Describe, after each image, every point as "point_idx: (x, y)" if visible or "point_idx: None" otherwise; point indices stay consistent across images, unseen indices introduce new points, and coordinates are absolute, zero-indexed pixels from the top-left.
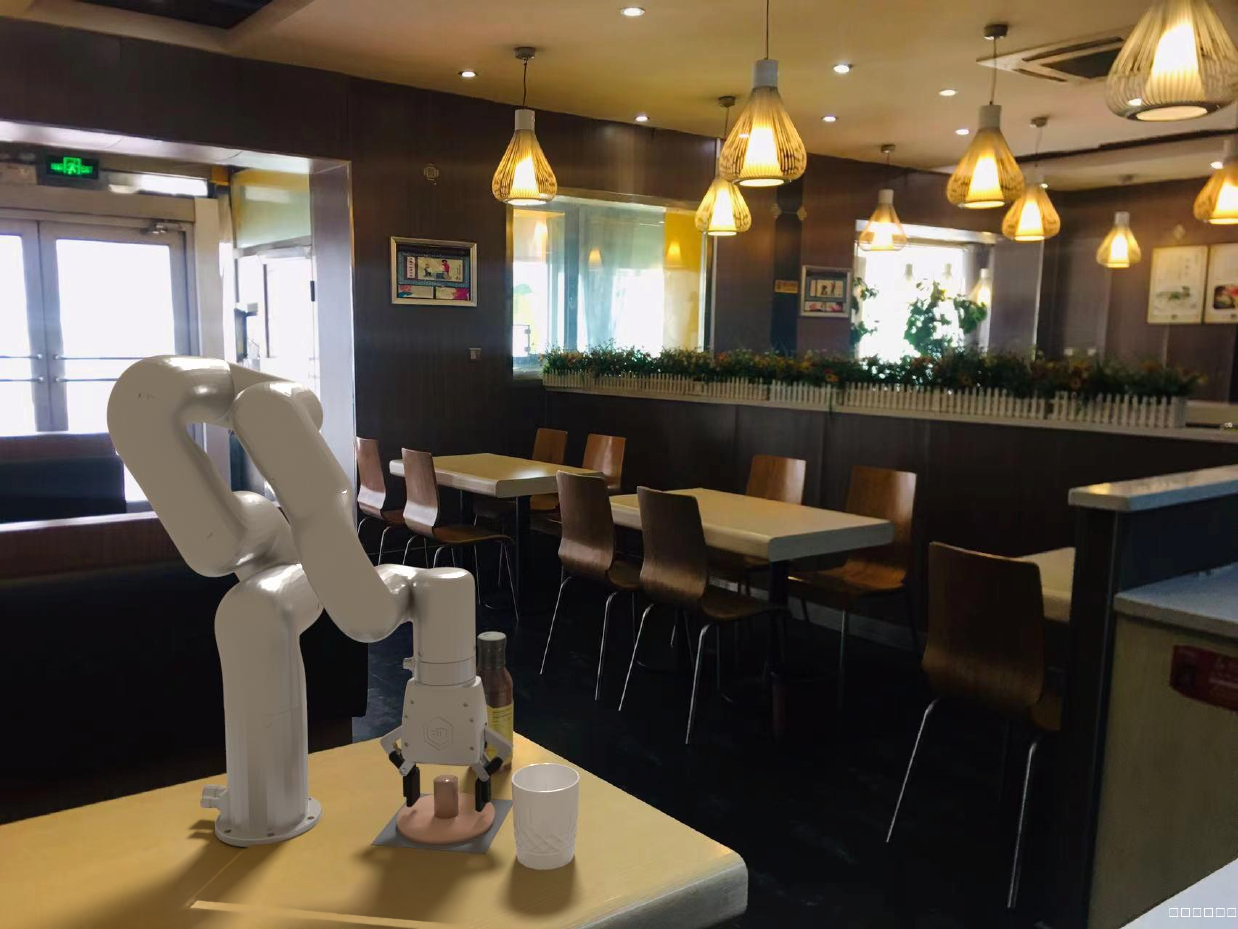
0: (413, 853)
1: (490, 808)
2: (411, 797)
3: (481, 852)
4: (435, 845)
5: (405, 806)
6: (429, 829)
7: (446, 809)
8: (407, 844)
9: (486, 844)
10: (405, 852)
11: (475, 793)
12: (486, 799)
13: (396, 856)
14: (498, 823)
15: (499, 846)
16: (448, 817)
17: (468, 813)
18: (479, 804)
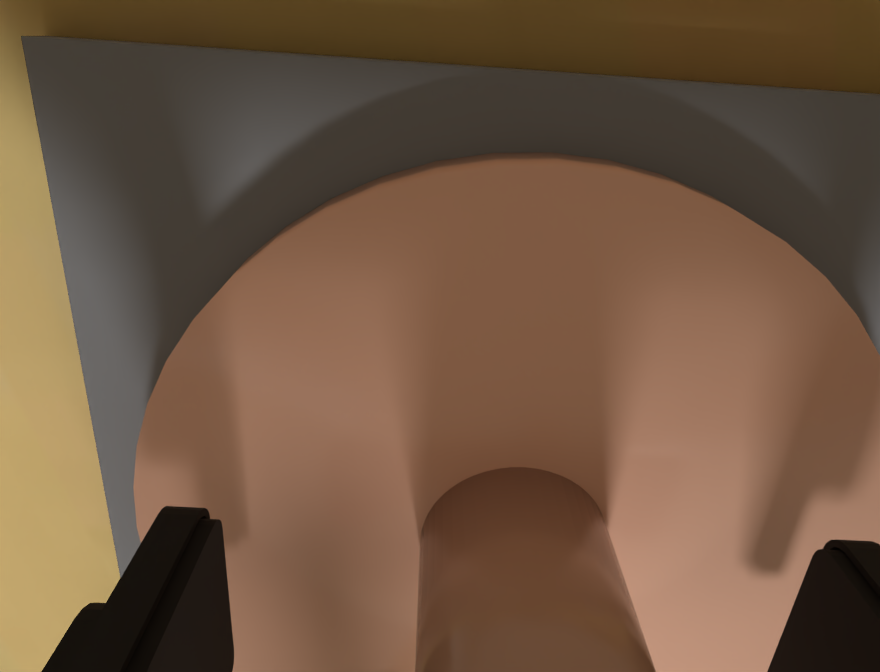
0: (678, 72)
1: None
2: (877, 614)
3: (58, 50)
4: (506, 144)
5: None
6: (598, 296)
7: (496, 525)
8: (755, 140)
9: (79, 199)
10: (748, 83)
11: (145, 660)
12: (85, 622)
13: (820, 3)
14: (131, 503)
15: (26, 248)
16: (477, 482)
17: (342, 555)
18: (142, 553)
